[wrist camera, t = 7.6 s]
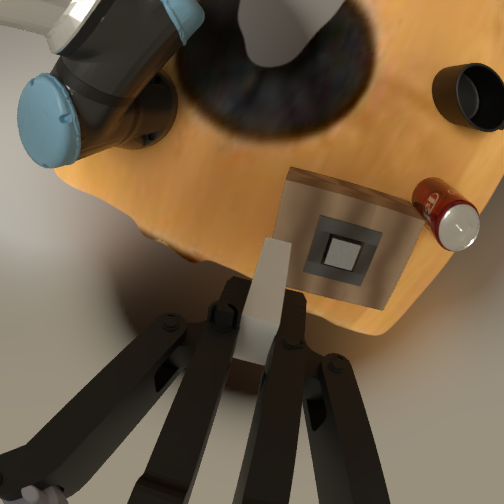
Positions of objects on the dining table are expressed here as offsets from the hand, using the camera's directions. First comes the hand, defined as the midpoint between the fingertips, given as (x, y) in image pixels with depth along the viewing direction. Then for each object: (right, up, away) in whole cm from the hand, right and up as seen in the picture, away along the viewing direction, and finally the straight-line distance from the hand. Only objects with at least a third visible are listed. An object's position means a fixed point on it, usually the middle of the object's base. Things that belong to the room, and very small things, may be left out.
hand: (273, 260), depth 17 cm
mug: (+31, +24, +15) cm, 42 cm away
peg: (+13, +4, +29) cm, 32 cm away
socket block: (+13, +4, +30) cm, 33 cm away
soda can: (+28, +9, +24) cm, 38 cm away
